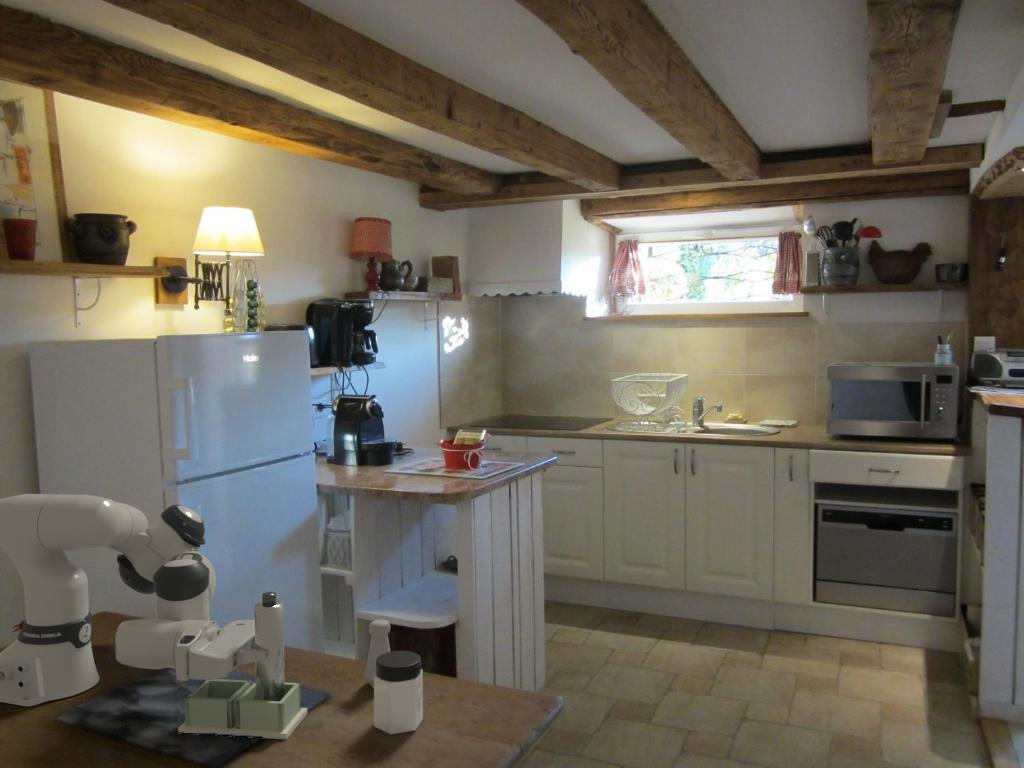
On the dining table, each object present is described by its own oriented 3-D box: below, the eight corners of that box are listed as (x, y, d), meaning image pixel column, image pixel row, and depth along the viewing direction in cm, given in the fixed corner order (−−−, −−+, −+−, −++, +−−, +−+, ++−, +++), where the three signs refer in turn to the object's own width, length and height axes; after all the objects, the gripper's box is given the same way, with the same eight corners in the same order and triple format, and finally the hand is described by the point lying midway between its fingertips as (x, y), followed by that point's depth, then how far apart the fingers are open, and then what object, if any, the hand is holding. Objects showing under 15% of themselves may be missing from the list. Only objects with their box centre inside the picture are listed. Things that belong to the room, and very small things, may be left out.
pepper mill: (251, 713, 144) (249, 597, 143) (262, 701, 149) (261, 589, 148) (278, 715, 143) (277, 598, 142) (288, 702, 148) (287, 590, 147)
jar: (413, 737, 141) (412, 670, 141) (368, 733, 143) (368, 666, 142) (427, 714, 150) (427, 651, 149) (386, 710, 151) (385, 648, 151)
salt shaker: (388, 691, 160) (387, 627, 159) (361, 689, 161) (360, 625, 160) (398, 679, 165) (397, 617, 165) (371, 677, 167) (371, 615, 166)
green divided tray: (178, 733, 143) (177, 700, 142) (205, 708, 152) (205, 677, 152) (286, 739, 140) (286, 705, 140) (307, 713, 150) (307, 681, 150)
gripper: (227, 641, 157) (295, 644, 156) (172, 685, 137) (250, 689, 135) (226, 609, 157) (295, 612, 155) (171, 649, 137) (250, 652, 135)
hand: (274, 648), depth 145 cm, fingers closed on pepper mill, 5 cm apart
